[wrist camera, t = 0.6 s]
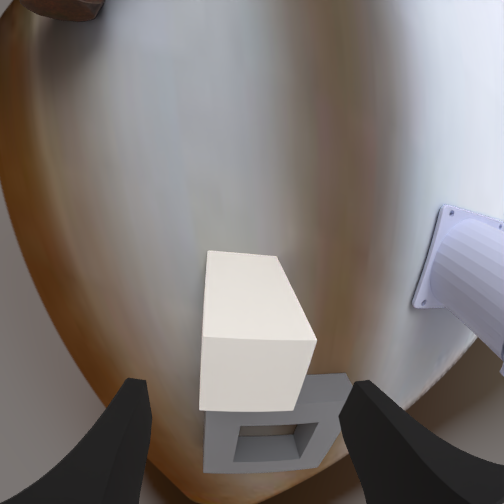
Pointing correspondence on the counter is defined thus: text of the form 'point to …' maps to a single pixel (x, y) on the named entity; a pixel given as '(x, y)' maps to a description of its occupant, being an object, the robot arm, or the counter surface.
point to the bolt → (65, 9)
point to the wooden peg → (251, 336)
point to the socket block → (281, 446)
